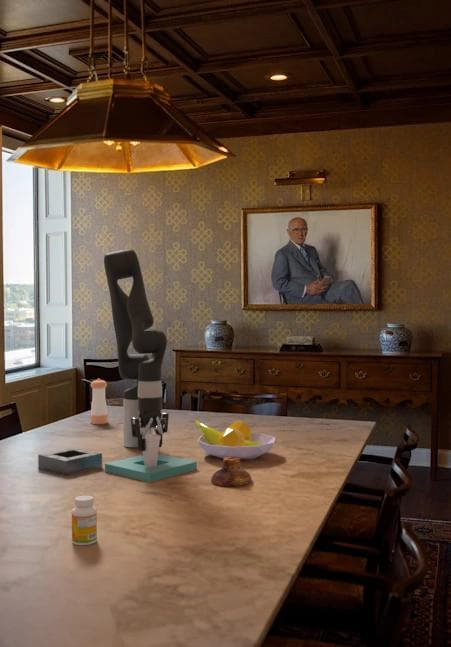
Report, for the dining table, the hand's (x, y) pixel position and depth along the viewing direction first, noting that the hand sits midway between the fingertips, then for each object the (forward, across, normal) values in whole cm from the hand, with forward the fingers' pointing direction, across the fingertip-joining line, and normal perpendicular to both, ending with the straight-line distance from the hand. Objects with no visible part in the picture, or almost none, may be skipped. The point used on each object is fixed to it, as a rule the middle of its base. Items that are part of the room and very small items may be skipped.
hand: (150, 448), depth 219 cm
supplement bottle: (+7, +54, +36) cm, 65 cm away
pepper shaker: (+7, -45, -80) cm, 92 cm away
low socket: (+7, 0, 0) cm, 7 cm away
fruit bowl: (+7, -33, +6) cm, 34 cm away
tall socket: (+7, +14, -22) cm, 27 cm away
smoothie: (+6, 0, 0) cm, 6 cm away
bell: (+7, -6, +28) cm, 30 cm away
